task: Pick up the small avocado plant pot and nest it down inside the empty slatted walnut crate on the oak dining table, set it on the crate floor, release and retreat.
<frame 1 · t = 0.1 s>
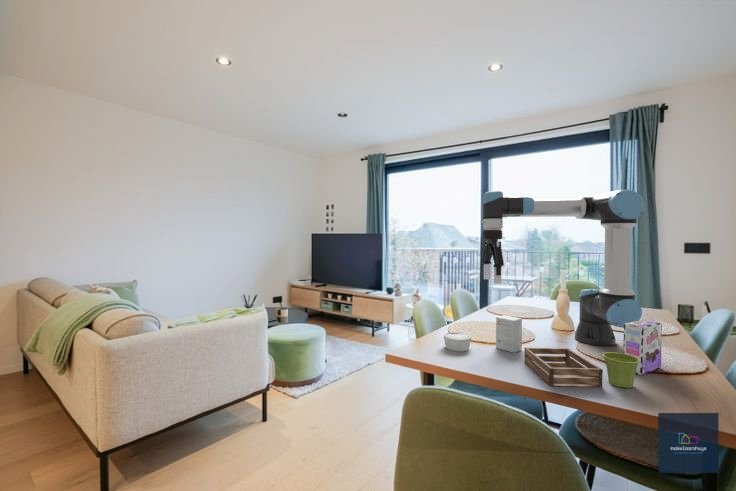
hand: (492, 281, 138), 28 cm above the table, fingers open, 13 cm apart
ramekin: (457, 348, 140), on the table
small box: (508, 349, 139), on the table
candy box: (642, 369, 118), on the table
crate: (559, 373, 114), on the table
plant pot: (620, 384, 106), on the table
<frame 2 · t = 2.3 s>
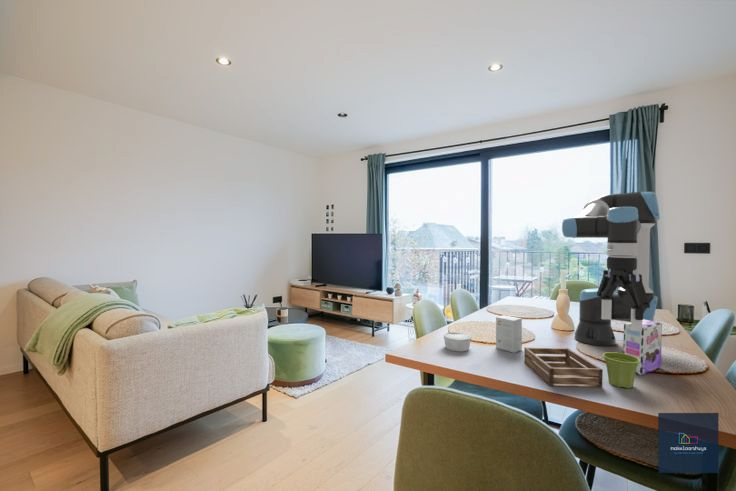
hand: (620, 324, 105), 19 cm above the table, fingers open, 13 cm apart
nothing on the table moved.
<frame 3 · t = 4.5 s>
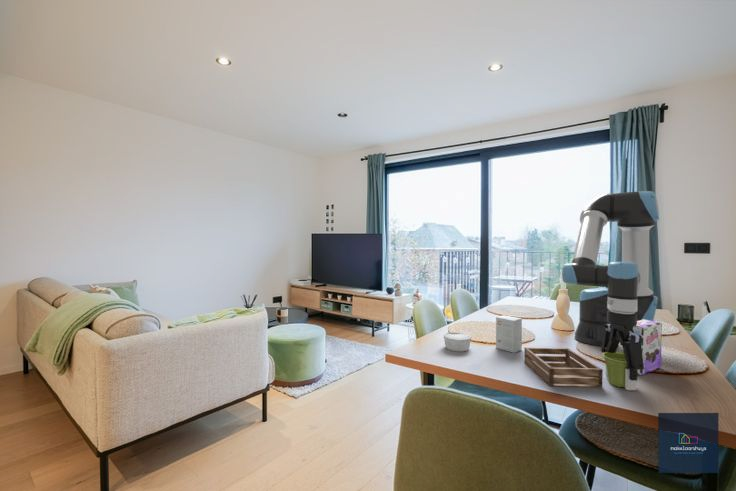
hand: (620, 383, 106), 0 cm above the table, fingers closed on plant pot, 8 cm apart
plant pot: (620, 384, 106), on the table, touching gripper
everything else where it was.
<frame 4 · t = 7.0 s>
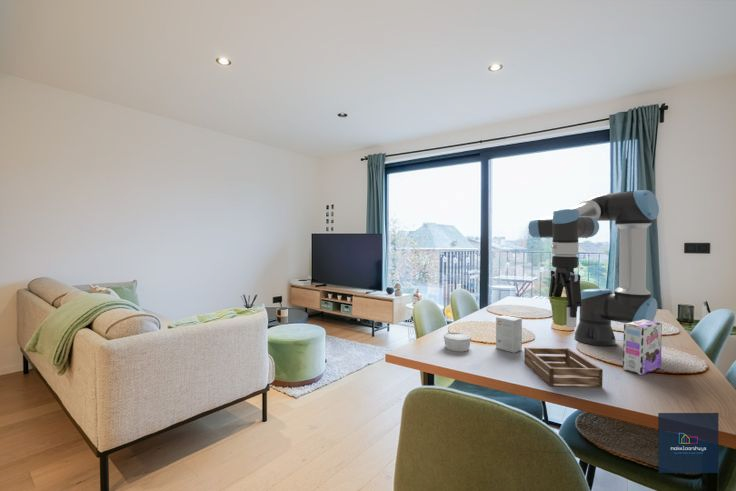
hand: (563, 323, 113), 17 cm above the table, fingers closed on plant pot, 8 cm apart
plant pot: (563, 324, 113), point 17 cm above the table, touching gripper
everything else where it was.
when the fingers open (1 cm above the table, at t = 9.7 s): plant pot moves 3 cm, resting on crate.
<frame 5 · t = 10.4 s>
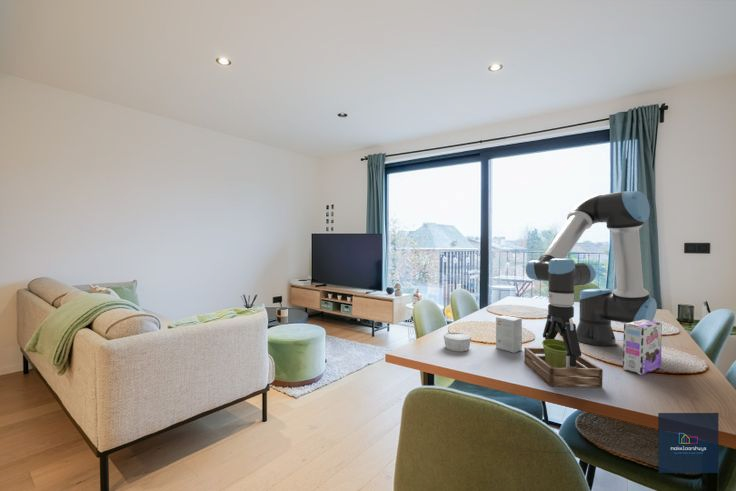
hand: (560, 367, 113), 2 cm above the table, fingers open, 13 cm apart
plant pot: (555, 368, 117), point 1 cm above the table, touching crate, gripper
everything else where it was.
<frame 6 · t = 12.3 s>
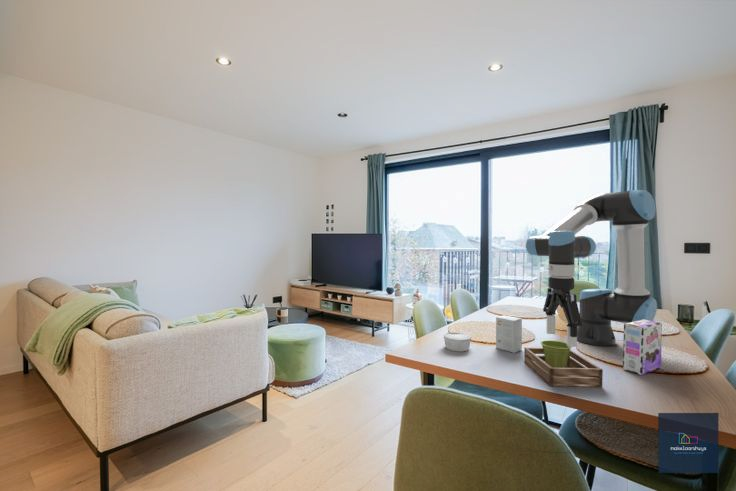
hand: (560, 339, 113), 12 cm above the table, fingers open, 13 cm apart
plant pot: (555, 369, 117), resting on crate
everything else where it was.
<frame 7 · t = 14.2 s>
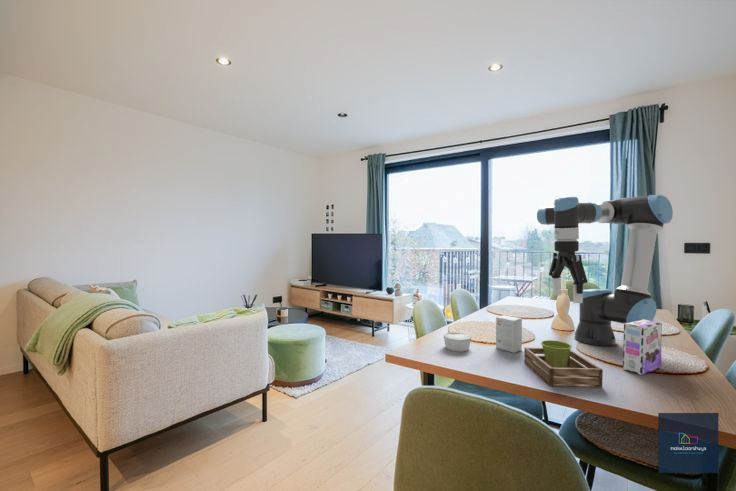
hand: (566, 299, 122), 24 cm above the table, fingers open, 13 cm apart
nothing on the table moved.
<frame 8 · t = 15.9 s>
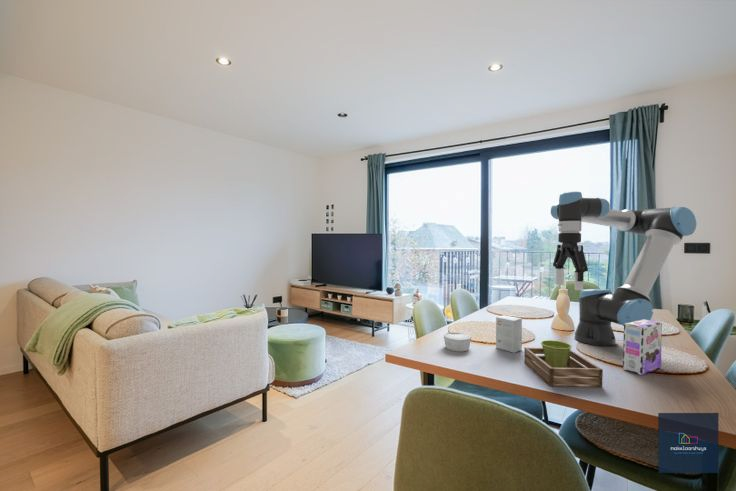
hand: (568, 287, 130), 27 cm above the table, fingers open, 13 cm apart
nothing on the table moved.
at the end: plant pot inside the target area on the crate (3.7 cm from its centre), point 0.1 cm above the crate's base; plant pot tilted 0°; the gripper is holding nothing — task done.
